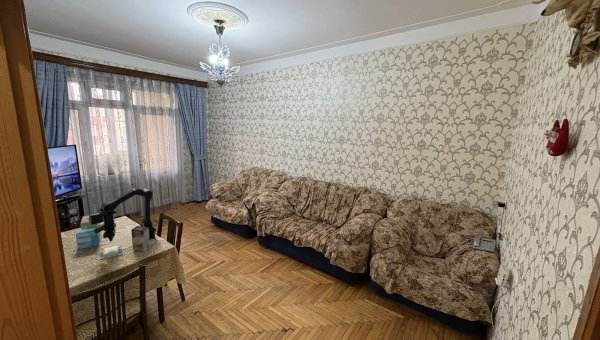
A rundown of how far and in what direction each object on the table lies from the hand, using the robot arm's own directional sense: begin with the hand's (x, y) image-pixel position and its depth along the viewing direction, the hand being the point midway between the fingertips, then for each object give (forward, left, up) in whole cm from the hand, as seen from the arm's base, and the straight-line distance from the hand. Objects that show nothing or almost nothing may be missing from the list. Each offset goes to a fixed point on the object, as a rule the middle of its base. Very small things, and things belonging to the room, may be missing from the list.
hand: (111, 241), depth 176 cm
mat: (0, +5, -7) cm, 9 cm away
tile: (0, -1, -6) cm, 6 cm away
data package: (+14, -14, -7) cm, 21 cm away
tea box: (+14, -30, -7) cm, 34 cm away
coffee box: (-17, +6, -7) cm, 20 cm away
